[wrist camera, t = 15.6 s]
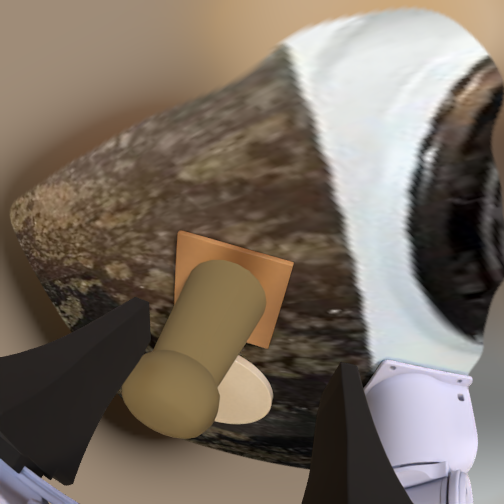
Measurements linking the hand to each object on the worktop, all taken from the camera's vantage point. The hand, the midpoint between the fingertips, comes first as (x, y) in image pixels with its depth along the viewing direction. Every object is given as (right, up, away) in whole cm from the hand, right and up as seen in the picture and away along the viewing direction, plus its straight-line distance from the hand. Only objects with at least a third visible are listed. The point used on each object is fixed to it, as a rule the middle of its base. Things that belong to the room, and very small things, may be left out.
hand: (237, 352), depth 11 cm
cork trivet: (-1, +1, +12) cm, 12 cm away
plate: (-3, -9, +18) cm, 21 cm away
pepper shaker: (-1, +1, +12) cm, 12 cm away
